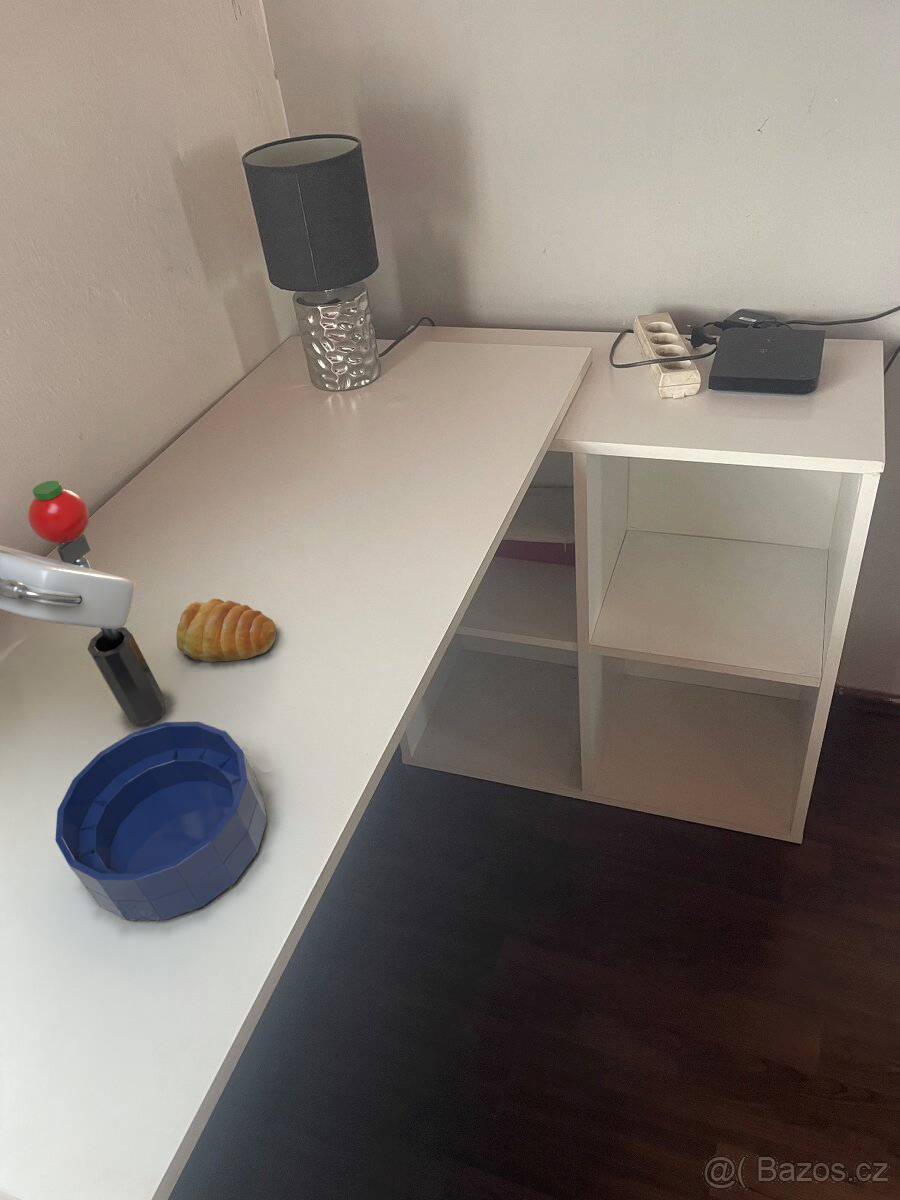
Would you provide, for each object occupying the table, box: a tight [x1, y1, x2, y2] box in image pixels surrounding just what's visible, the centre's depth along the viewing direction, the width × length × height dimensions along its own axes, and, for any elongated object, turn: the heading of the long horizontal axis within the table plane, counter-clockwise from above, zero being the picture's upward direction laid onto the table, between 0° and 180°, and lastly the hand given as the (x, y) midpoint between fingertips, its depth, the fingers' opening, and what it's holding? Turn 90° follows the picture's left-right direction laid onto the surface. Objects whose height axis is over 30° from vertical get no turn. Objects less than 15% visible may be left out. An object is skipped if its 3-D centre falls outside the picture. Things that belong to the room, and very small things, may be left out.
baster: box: [27, 480, 123, 650], centre depth 70 cm, size 4×4×19 cm
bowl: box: [55, 721, 268, 921], centre depth 66 cm, size 14×14×6 cm
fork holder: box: [87, 626, 168, 728], centre depth 76 cm, size 4×4×9 cm
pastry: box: [176, 598, 277, 663], centre depth 83 cm, size 9×7×4 cm
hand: (89, 586), depth 70 cm, fingers closed on baster
